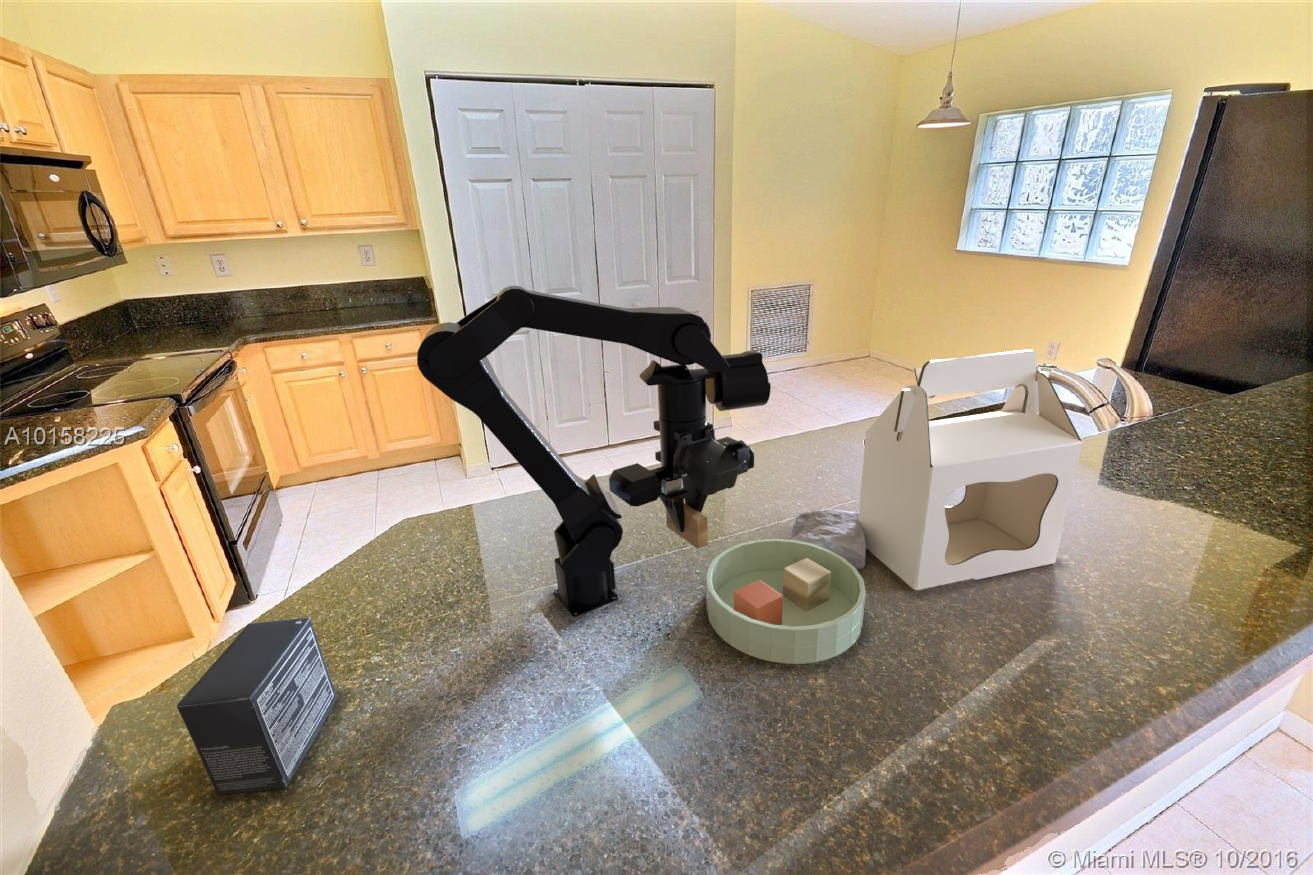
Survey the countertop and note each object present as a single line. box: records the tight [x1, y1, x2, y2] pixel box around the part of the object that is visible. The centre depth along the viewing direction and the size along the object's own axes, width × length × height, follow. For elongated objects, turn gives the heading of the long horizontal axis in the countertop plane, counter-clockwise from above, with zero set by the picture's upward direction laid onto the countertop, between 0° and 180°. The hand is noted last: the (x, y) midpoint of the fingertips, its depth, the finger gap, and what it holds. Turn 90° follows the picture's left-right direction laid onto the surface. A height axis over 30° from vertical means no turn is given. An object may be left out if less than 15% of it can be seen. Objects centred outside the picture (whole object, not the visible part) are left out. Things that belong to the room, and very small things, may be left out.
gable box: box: [858, 349, 1083, 591], centre depth 76 cm, size 22×13×28 cm, turn 104°
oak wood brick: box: [665, 502, 709, 550], centre depth 75 cm, size 2×7×4 cm, turn 33°
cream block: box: [783, 558, 831, 611], centre depth 71 cm, size 4×4×4 cm
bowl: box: [705, 538, 867, 665], centre depth 69 cm, size 18×18×5 cm
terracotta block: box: [734, 580, 783, 625], centre depth 67 cm, size 4×4×4 cm
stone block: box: [790, 508, 867, 570], centre depth 82 cm, size 12×5×10 cm
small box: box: [175, 616, 339, 796], centre depth 53 cm, size 11×6×10 cm, turn 5°
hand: (686, 528), depth 75 cm, fingers closed on oak wood brick, 2 cm apart
